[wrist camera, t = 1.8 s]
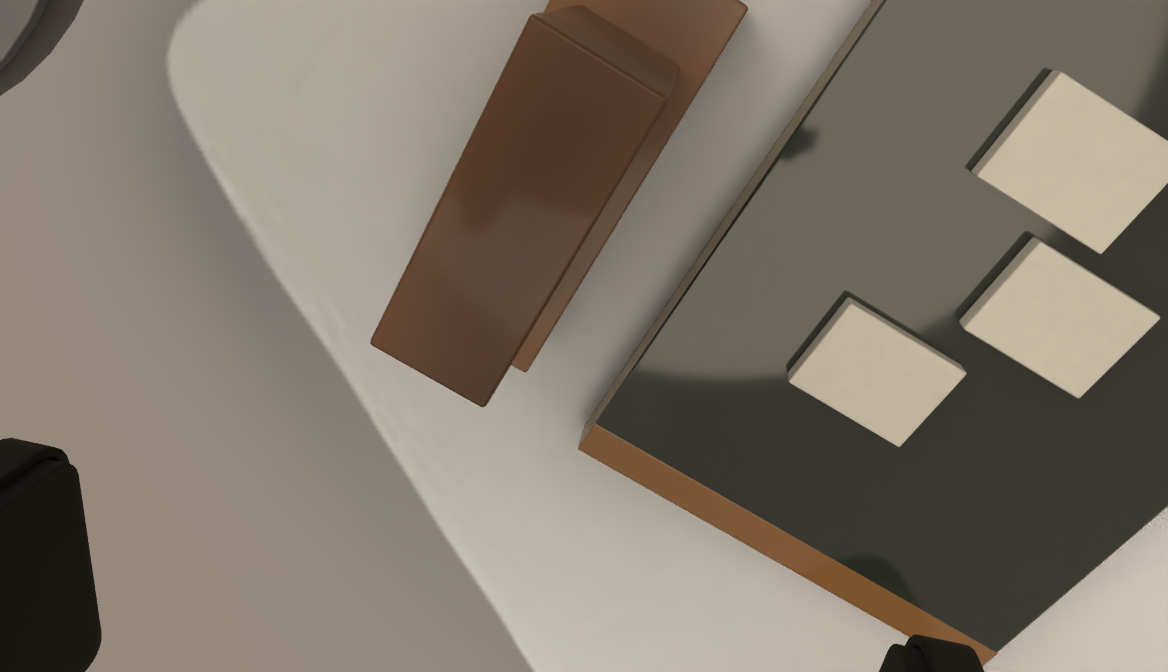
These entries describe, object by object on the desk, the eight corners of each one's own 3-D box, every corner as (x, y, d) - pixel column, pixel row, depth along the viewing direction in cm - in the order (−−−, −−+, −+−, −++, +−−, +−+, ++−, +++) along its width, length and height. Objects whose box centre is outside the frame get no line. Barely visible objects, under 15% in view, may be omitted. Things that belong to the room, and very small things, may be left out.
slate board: (583, 426, 28) (577, 449, 27) (1043, -254, 19) (1069, -273, 17) (962, 641, 29) (974, 674, 28) (1563, 107, 20) (1626, 116, 19)
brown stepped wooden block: (424, 275, 26) (309, 394, 19) (606, -84, 21) (548, -118, 14) (540, 341, 27) (472, 485, 19) (745, 4, 22) (763, 18, 14)
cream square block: (969, 171, 21) (976, 176, 21) (1052, 69, 20) (1062, 71, 20) (1091, 248, 22) (1101, 255, 21) (1180, 152, 20) (1193, 156, 20)
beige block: (957, 320, 23) (962, 329, 22) (1032, 235, 22) (1040, 241, 21) (1070, 390, 23) (1079, 400, 23) (1151, 309, 22) (1162, 318, 22)
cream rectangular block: (786, 373, 24) (788, 382, 24) (847, 295, 23) (851, 303, 23) (895, 438, 25) (899, 448, 24) (962, 365, 23) (968, 373, 23)
